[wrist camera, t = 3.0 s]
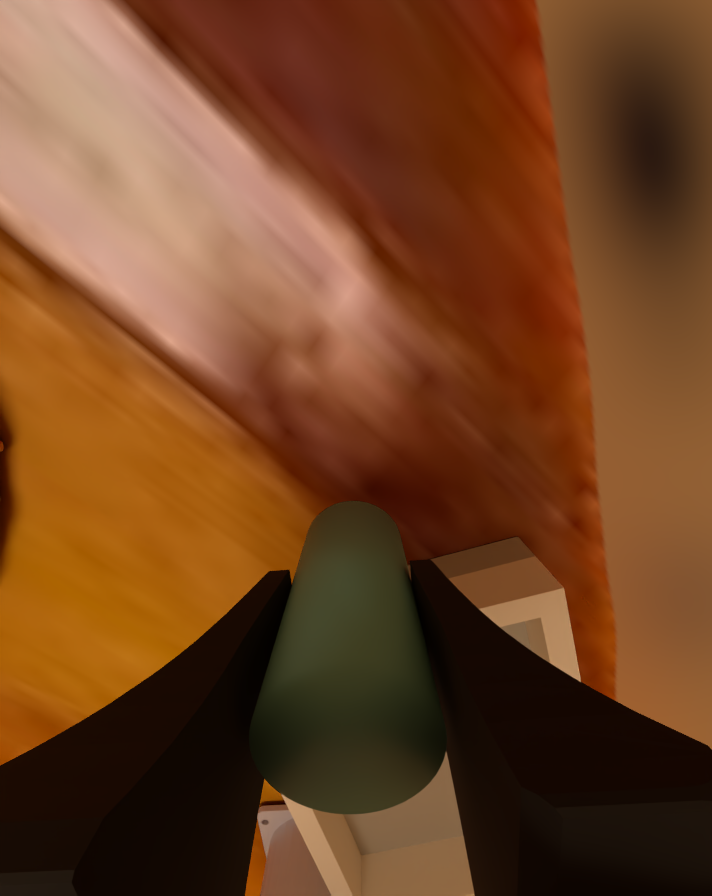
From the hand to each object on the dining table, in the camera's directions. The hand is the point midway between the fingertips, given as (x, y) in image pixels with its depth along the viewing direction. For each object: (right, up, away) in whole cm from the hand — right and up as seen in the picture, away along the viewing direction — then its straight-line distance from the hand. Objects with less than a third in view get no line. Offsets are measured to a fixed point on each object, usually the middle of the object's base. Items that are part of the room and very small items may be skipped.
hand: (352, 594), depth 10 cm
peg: (0, +1, +3) cm, 3 cm away
